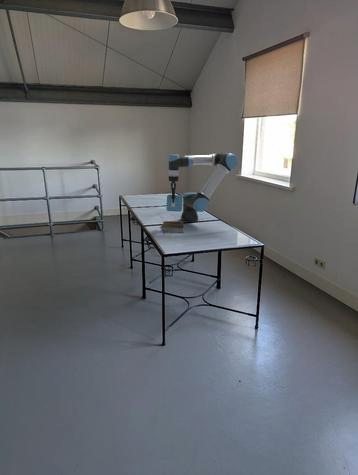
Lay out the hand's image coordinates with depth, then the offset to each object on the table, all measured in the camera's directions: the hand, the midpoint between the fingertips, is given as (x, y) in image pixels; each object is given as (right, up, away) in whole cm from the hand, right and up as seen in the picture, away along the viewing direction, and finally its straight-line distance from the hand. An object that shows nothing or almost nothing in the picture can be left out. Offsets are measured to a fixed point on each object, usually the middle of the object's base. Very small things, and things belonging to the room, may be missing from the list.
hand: (173, 206), depth 255 cm
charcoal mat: (0, -19, -6) cm, 20 cm away
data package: (+1, -4, +1) cm, 4 cm away
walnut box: (0, -16, +5) cm, 16 cm away
